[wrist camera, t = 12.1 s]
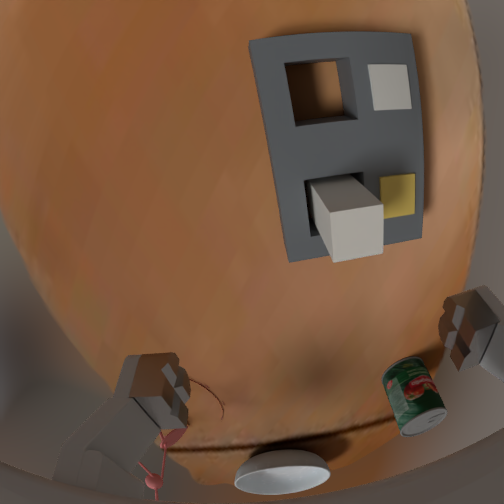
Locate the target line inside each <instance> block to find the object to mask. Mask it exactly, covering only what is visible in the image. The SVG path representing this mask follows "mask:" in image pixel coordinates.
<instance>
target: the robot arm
mask: <svg viewBox="0 0 504 504" xmlns="http://www.w3.org/2000/svg"><path fill="white" fill-rule="evenodd" d="M443 309H444V310H445V312H444V314H443V315H442V316H441V317H440V320H439V325H438V329H439V336H440V339H441V341H442V343H443V345H444V346H445V347H447V348H449V349H451V355H450V357H451V359H452V361H453V362H454V364H455V366H456V368H457V370H458V371H459V372H460V371H462V370H465V369H468V368H470V367H473V366H475V365H478V364H480V366H482V367H483V368H484V369H486V370H487V371H488V372H490V373H491V374H493V375H494V376H495V377H497V378H499V379H500V380H501V381H502V382H504V306H503V304H502V303H501V302H500V301H499V300H498V298H497V297H496V296H495V295H494V294H493V292H492V291H491V290H490V289H489V288H488V287H487V286H485V285H482V286H479V287H477V288H474V289H472V290H467V291H464V292H461V293H458V294H455V295H452V296H449V297H447V298H446V299H445V301H444V304H443ZM190 392H191V388H190V380H189V377H188V374H187V372H186V370H185V369H184V368H182V367H180V366H179V358H178V357H177V355H176V353H173V352H170V353H155V354H142V355H128V356H127V357H126V358H125V360H124V363H123V366H122V370H121V373H120V376H119V379H118V382H117V386H116V389H115V392H114V396H113V398H108V399H107V400H106V401H105V402H104V403H103V404H102V405H101V406H100V407H99V408H98V409H97V410H96V411H95V412H94V413H93V414H92V415H91V416H90V417H89V418H88V419H87V420H86V421H85V422H84V423H83V424H82V425H81V426H80V427H79V428H78V429H77V430H76V431H75V432H74V433H73V434H72V435H71V436H70V437H69V438H68V439H67V440H66V441H65V442H64V443H63V444H62V446H61V450H60V453H59V456H58V460H57V464H56V467H55V471H54V474H53V478H52V480H51V479H48V478H44V477H42V476H39V475H35V474H33V473H30V472H27V471H24V470H22V469H19V468H16V467H14V466H11V465H8V464H6V463H4V462H1V461H0V504H207V503H182V502H167V501H156V500H147V499H143V493H144V483H143V482H142V481H141V480H140V479H138V478H137V477H135V476H133V475H132V474H131V472H132V471H133V469H134V468H135V466H136V465H137V464H138V462H139V461H140V459H141V458H142V457H143V455H144V454H145V453H146V451H147V450H148V448H149V447H150V446H151V444H152V443H153V442H154V440H155V439H156V437H157V436H158V435H159V433H160V432H161V430H160V429H181V428H187V419H188V408H187V407H186V406H185V403H186V402H187V401H188V399H189V398H190ZM208 504H217V503H208ZM218 504H504V428H502V429H500V430H499V431H497V432H495V433H493V434H491V435H490V436H488V437H486V438H484V439H482V440H480V441H478V442H476V443H474V444H472V445H470V446H468V447H466V448H464V449H462V450H459V451H457V452H455V453H453V454H451V455H448V456H446V457H444V458H441V459H439V460H437V461H434V462H432V463H429V464H426V465H424V466H421V467H418V468H416V469H413V470H410V471H407V472H404V473H402V474H398V475H395V476H392V477H389V478H385V479H383V480H379V481H375V482H371V483H368V484H364V485H360V486H356V487H352V488H348V489H344V490H338V491H334V492H329V493H324V494H318V495H312V496H306V497H299V498H293V499H283V500H274V501H263V502H250V503H218Z"/></svg>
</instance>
